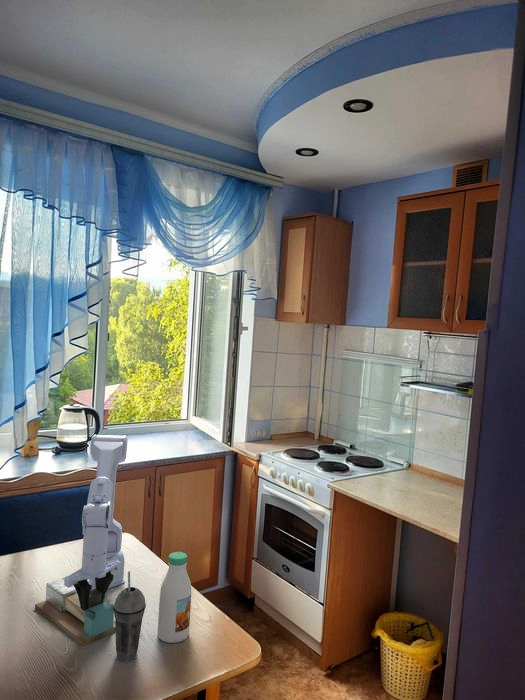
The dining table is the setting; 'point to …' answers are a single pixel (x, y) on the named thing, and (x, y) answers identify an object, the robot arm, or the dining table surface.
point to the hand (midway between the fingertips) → (91, 606)
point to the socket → (98, 619)
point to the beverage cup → (128, 621)
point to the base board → (69, 623)
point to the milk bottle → (175, 601)
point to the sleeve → (58, 594)
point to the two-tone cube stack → (74, 605)
